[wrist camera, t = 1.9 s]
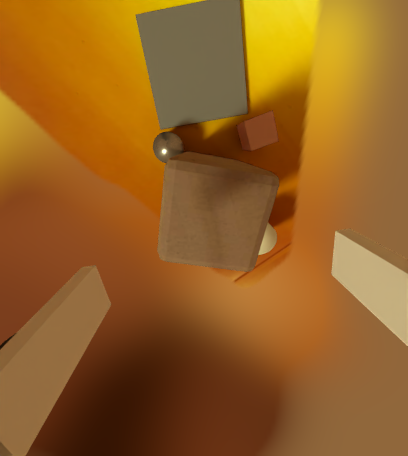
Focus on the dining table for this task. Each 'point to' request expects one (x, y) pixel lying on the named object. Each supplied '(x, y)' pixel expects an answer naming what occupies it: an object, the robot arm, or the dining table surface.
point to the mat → (195, 61)
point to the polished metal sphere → (167, 146)
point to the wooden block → (214, 211)
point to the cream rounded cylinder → (268, 240)
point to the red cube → (258, 131)
